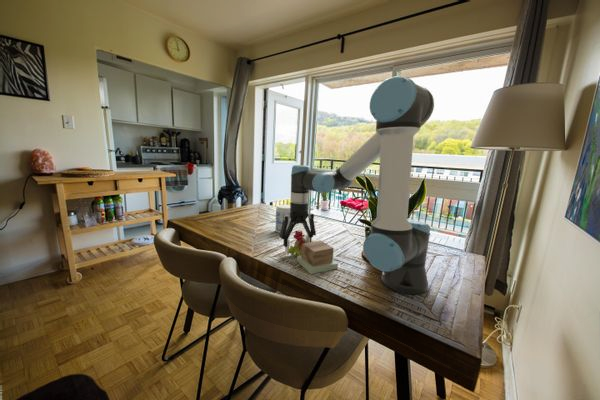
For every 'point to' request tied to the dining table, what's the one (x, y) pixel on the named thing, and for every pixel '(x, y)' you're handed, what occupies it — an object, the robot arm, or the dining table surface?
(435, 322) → the dining table surface
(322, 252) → the walnut block
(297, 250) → the bird rattle
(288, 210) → the supplement tub
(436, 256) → the dining table surface
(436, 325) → the dining table surface
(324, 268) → the base plate
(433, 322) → the dining table surface
